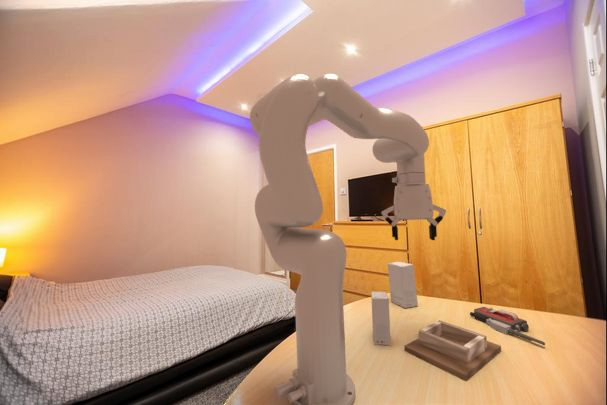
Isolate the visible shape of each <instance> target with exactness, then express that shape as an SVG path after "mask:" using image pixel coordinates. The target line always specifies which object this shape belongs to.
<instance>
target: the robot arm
mask: <svg viewBox="0 0 607 405" xmlns="http://www.w3.org/2000/svg"><path fill="white" fill-rule="evenodd" d="M324 120H326V121H328V122H329V123H331V124H333V126H335V127H337V129H340V130H341V131H343V132H344V133H346V134H347V135H348V136H349V137H351V138H353V139H360V140H375V141H374V142H373V144H372V154H373V156H374V158H375V159H376V160H377V161H378V162H381V163H385V164H390V163H396V177H392V178H391V182H392V183H395V184H397V185H395V187H394V193H393V194H394V195H393V205H391V206H390V207H387V208H386V209H384V210H382V211H381V216H382V217H383V218H384V220H385V222H387V223H388V224H389V225H390V226H391V236H392V238H394V240H395V241H398V240H399V231H398V230H399V228H398V226H397V224H398V223H399V222H400V221H401V220H402V221H404V220H405V221H407V220H411V221H413V220H415V221H416V220H426V221H427V222H428V223H429V225H428V231H429V232H428V234H429V240H431V241H436V238H437V226H438V225H439V224H440V223H441V221H443V219H444V217H445V215H446V213H447V210H446V209H445V208H442V207H440V206H439V205H438V206H437V205H435V204H434V203H433V197H432V191H431V187H430V184H429V183H428V184H427V183H426V168H425V167H426V166H425V153H426V152H427V151H428V150H429V145H430V139H429V136H428V134H427V132H426V130H425V129H424V127H423V126H422V125H421V124H420V123H419V122H418V121H417V120H416V119H415V118H414V117H412V116H411V115H409V114H408V113H404V112H401V111H399V110H394V109H393V110H392V109H389V108H385V107H384V108H383V107H378V106H377V107H376V106H374V105H372V103H371V102H369V101H368V100H367V99H366V98H364V96H362V95H361V94H360V93H359V92H358V91H357V90H356V89H354V88H353V87H352V86H350V85H349V84H348V83H347V82H346V81H345V80H344V79H342V77H340V76H339V75H337V74H335V73H324V74H322V75H320V76H318V77H317V78H315V79H312V78H311V77H309V75H306V74H299V73H298V74H294V75H291V76H289V77H286V78H285V79H284V80H282V81H281V82H280V83H278V84H277V85H275V86H274V87H273V88H272V89H271V90H269V92H267V93H266V94H265V95H264V96H262V97H261V98H260V99H259V100H257V101H256V102H255V104H254V105H253V106H252V108H251V109H250V113H249V123H250V125H251V128H252V130H253V131H254V133H255V134H257V136H259V140H258V142H259V144H258V150H259V157H260V161H261V165H262V168H263V171H264V174H265V178H266V181H267V184H266V185H265V186H263V187H261V188H260V189H259V191H258V193H257V194H256V197H255V201H254V213H255V218H256V221H257V224H258V226H259V228H260V230H261V233H262V235H263V238H264V241H265V243H266V246H267V248H268V250H269V254H270V255H271V258H272V259H273V261H274V262H275V263H276V265H277V266H278V267H280V268H281V269H283V270H285V271H288V272H291V273H295V274H298V275H300V281H299V283H298V285H297V289H296V292H295V298H294V312H295V337H296V340H295V341H296V366H297V368H295V369H293V370H292V376H291V377H290V378H289V379H288V381H287V382H285V383H283V382H282V383H281V384H279V385H277V386H274V393H275V394H274V395H275V397H276V399H277V400H280V399H283V398H284V397H286V396H287V399H288V402H289V403H290V404H292V403H293V404H294V405H352V404H353V403H354V401H355V397H356V386H355V383H354V380H353V379H352V378H351V376H349V375H348V374H347V362H346V361H347V358H346V338H345V335H346V334H345V332H346V331H345V314H344V313H345V312H344V310H345V309H344V279H345V272H346V266H347V255H348V254H347V249H346V247H347V246H346V245H345V243H344V241H343V239H342V238H341V237H340V236H339V235H338V234H336V233H335V232H333V231H330V230H328V229H321V228H307V227H310V226H313V225H314V224H317V223H318V222H319V221H320V220H321V218H322V215H323V212H324V207H323V200H322V197H321V193H320V190H319V187H318V184H317V182H316V178H315V175H314V172H313V169H312V166H311V163H310V160H309V157H308V153H307V147H306V139H307V134H308V129H309V127H310V126H313V125H315V124H317V123H319V122H321V121H324ZM434 211H435V212H438V214H437V216H436V217H435V218H434ZM391 212H393V216H394V218H393V219H391V218H390V217H389V215H388V214H389V213H391ZM305 227H306V228H305Z"/></svg>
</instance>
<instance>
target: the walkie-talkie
mask: <svg viewBox="0 0 607 405" xmlns="http://www.w3.org/2000/svg"><path fill="white" fill-rule="evenodd" d="M469 316H471V317H474V319H475V320H477V321H480V322H483V323H485V324H487V325H488V326H489V327H490V328H491V329H492V330H495V331H498V332H500V333H502V334H504V335H513V336H516V337H518V338H522V339H524V340H527V341H530V342H534V343H537V344H539V345H542V346H546V342H545V341H543V340H540V339H538V338H535V337H533V336H529V335H527V334H525V333H523V332H528V330H529V329H530V328H529V324H528V321H527V320H525V319H523V318H520V317H519V316H518V315H517V314H516V313H514V312H509V311H508V310H506V309H505V310H504V309H498V310H495V309H494V308H493V307H487V306H481V307H476V308H474V309H473V312H472V311H471V312H469Z"/></svg>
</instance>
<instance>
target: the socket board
mask: <svg viewBox="0 0 607 405" xmlns="http://www.w3.org/2000/svg"><path fill="white" fill-rule="evenodd" d="M417 335H418V338H416V339H414V340H413V341H411V342H409V343H407V344H405V345H404V346H403V348H404V352H407V353H408V354H410V355H413V356H414V357H417V358H418V359H420V360H422V361H425V362H427V363H429V364H431V365H432V366H434V367H437V368H439V369H441V370H443V371H445V372H448V373H449V374H451V375H453V376H455V377H456V378H457V377H458V378H460V379H461V380H463V381H466V382H467V381H468V380H469V379H471V377H473V376H474V375H475V374H476V373H477V372H478V371H479V370H481V369H482V368H483V367H484V366H485V365H487V364H488V363H489V362H490V361H491V360H493V358H495V357H496V356H497V355H498V354H499V353H500V352H502V346H501V345H500V344H497V343H494V342H491V341H489V340H487V335H485V334H481V333H479V332H476V331H473V330H470V329H466V328H464V327H460V326H457V325H455V324H452V323H449V322H446V321H442V320H440V319H439V320H437V321H434V322H433V323H431V324H429V325H427V326H425V327H423V328H421V329H419V330H418V331H417Z"/></svg>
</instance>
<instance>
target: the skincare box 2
mask: <svg viewBox="0 0 607 405" xmlns="http://www.w3.org/2000/svg"><path fill="white" fill-rule="evenodd" d="M387 270H388V282H389V295H390V302H391V303H393V304H395V305H397V306H399V307H402V308H404V309H406V308H407V309H408V308H414V307H418V304H419V303H418V295H417V294H418V293H417V284H416V274H415V265H414V264H412V263H408V262H403V261H394V262H387Z"/></svg>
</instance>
